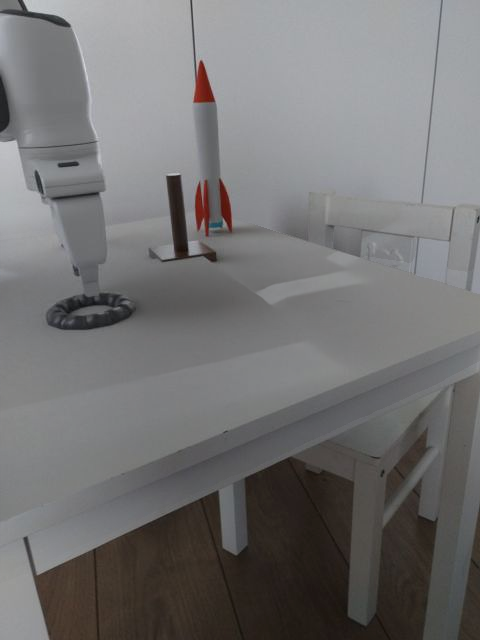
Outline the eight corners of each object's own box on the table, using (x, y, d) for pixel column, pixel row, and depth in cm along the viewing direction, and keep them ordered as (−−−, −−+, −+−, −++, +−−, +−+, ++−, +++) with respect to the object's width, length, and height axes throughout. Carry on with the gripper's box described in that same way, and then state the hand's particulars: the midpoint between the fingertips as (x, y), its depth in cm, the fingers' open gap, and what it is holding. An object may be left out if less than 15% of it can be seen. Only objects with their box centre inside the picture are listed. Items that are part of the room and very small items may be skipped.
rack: (163, 269, 90) (152, 180, 84) (149, 256, 97) (138, 174, 91) (216, 260, 93) (210, 174, 87) (199, 248, 100) (192, 168, 95)
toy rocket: (233, 232, 110) (223, 58, 98) (206, 236, 108) (192, 59, 95) (222, 227, 115) (211, 60, 102) (196, 231, 113) (181, 61, 100)
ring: (53, 345, 64) (48, 326, 63) (45, 316, 73) (41, 298, 72) (144, 328, 68) (141, 309, 67) (126, 302, 76) (123, 284, 75)
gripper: (29, 165, 74) (52, 268, 80) (43, 183, 57) (70, 313, 62) (79, 160, 76) (97, 261, 82) (107, 176, 59) (127, 302, 65)
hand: (86, 284), depth 72 cm, fingers open, 8 cm apart
